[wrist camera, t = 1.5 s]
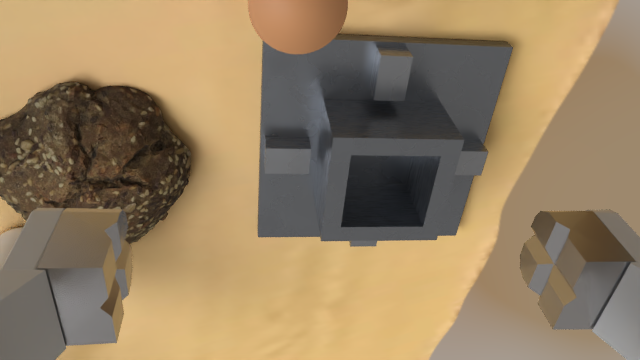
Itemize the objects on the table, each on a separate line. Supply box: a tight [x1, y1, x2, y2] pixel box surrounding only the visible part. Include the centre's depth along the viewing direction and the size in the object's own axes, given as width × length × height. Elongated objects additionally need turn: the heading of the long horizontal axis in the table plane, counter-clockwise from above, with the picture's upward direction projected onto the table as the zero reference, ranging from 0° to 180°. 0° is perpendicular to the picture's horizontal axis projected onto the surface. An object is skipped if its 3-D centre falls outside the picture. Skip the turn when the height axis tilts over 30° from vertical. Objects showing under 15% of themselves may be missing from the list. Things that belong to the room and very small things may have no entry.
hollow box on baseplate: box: [258, 34, 513, 246], centre depth 36 cm, size 16×16×6 cm
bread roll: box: [0, 82, 191, 244], centre depth 36 cm, size 13×12×5 cm
